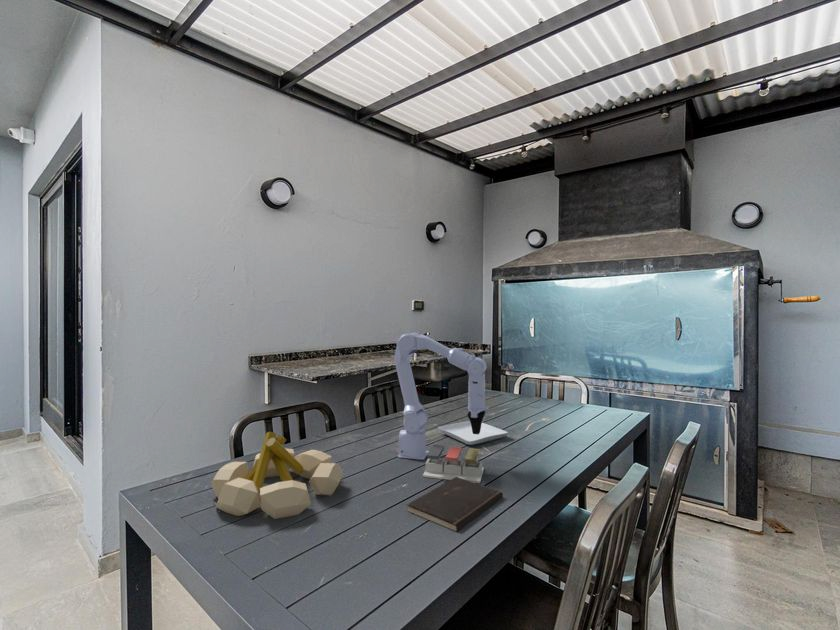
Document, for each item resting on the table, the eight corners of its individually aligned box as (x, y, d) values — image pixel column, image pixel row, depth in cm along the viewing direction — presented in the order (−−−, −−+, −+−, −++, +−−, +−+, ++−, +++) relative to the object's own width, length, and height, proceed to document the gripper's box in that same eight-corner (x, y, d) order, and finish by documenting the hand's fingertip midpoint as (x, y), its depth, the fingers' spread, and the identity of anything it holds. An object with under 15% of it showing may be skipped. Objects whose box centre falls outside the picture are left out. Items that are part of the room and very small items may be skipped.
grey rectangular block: (426, 467, 132) (426, 455, 132) (433, 456, 141) (433, 444, 141) (437, 468, 131) (438, 456, 131) (444, 457, 141) (444, 445, 140)
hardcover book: (406, 512, 110) (406, 504, 110) (455, 484, 128) (456, 476, 128) (457, 534, 100) (457, 525, 100) (503, 500, 118) (503, 492, 118)
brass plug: (464, 471, 129) (464, 458, 129) (469, 460, 139) (469, 448, 138) (476, 472, 128) (476, 460, 128) (479, 461, 138) (479, 449, 138)
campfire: (281, 461, 145) (281, 412, 144) (362, 481, 129) (362, 426, 129) (184, 504, 114) (183, 442, 113) (274, 537, 98) (274, 465, 98)
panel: (422, 476, 132) (422, 466, 132) (430, 463, 142) (430, 454, 142) (480, 483, 127) (480, 472, 127) (483, 469, 138) (483, 459, 138)
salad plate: (509, 439, 170) (509, 431, 169) (469, 449, 158) (469, 440, 157) (474, 426, 187) (474, 419, 187) (436, 435, 175) (436, 426, 175)
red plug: (445, 469, 130) (445, 457, 130) (451, 458, 140) (451, 446, 140) (456, 470, 129) (457, 458, 129) (461, 459, 139) (461, 447, 139)
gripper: (486, 399, 134) (486, 440, 135) (490, 390, 148) (490, 428, 149) (464, 397, 136) (464, 439, 136) (470, 389, 150) (470, 426, 150)
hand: (476, 433), depth 143 cm, fingers closed
